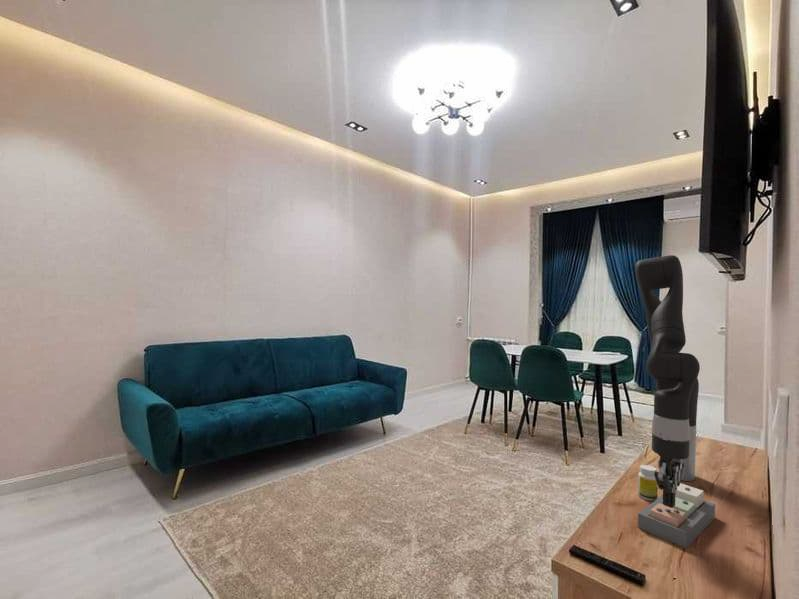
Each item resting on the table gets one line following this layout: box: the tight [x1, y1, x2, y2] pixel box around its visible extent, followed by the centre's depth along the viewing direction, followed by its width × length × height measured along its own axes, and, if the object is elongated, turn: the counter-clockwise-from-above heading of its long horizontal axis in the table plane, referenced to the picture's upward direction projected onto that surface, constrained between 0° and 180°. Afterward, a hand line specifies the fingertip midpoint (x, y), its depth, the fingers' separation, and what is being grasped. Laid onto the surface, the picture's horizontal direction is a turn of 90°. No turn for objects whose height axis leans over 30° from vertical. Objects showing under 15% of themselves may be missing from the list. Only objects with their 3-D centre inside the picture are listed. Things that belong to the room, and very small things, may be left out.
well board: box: [637, 494, 716, 549], centre depth 100 cm, size 22×10×4 cm, turn 128°
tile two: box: [661, 497, 695, 518], centre depth 100 cm, size 6×6×3 cm
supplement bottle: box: [637, 464, 659, 502], centre depth 113 cm, size 5×5×8 cm
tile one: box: [675, 482, 705, 509], centre depth 104 cm, size 6×6×3 cm
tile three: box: [650, 503, 685, 528], centre depth 96 cm, size 6×6×3 cm
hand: (668, 505), depth 96 cm, fingers closed
